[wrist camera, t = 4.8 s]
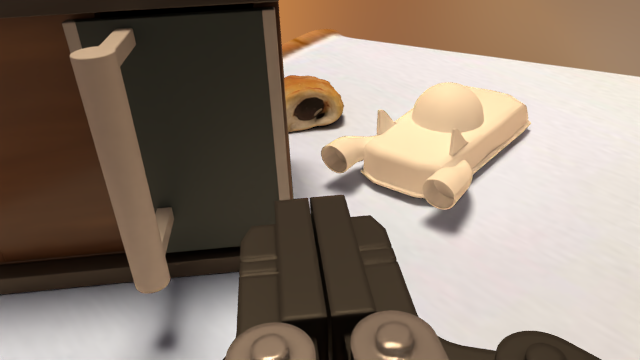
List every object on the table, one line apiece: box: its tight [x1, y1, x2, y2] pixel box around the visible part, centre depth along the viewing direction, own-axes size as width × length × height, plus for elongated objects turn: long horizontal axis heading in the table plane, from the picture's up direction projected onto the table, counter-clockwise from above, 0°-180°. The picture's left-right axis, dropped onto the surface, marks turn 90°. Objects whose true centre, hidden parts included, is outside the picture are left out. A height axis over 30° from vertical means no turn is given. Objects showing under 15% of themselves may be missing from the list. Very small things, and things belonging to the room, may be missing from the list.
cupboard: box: [0, 0, 293, 295], centre depth 32 cm, size 13×18×16 cm
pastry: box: [284, 75, 344, 132], centre depth 50 cm, size 9×7×4 cm
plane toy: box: [321, 83, 531, 210], centre depth 41 cm, size 10×20×6 cm, turn 141°
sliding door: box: [62, 7, 290, 293], centre depth 24 cm, size 6×9×13 cm, turn 96°
